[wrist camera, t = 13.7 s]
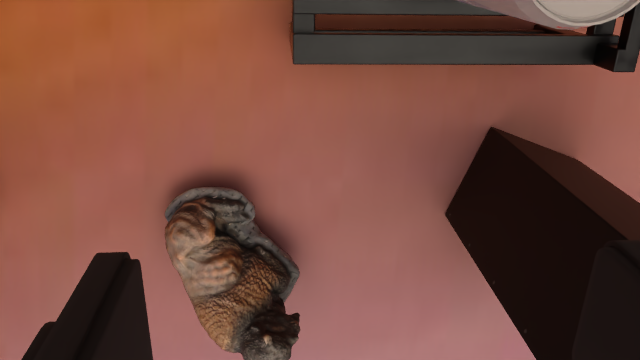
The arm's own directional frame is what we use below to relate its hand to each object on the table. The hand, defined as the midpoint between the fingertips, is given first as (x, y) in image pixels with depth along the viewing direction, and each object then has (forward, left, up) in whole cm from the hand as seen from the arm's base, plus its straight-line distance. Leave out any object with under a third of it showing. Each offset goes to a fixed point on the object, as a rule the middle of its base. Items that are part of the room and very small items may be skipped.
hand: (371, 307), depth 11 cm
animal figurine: (-5, -14, -28) cm, 32 cm away
